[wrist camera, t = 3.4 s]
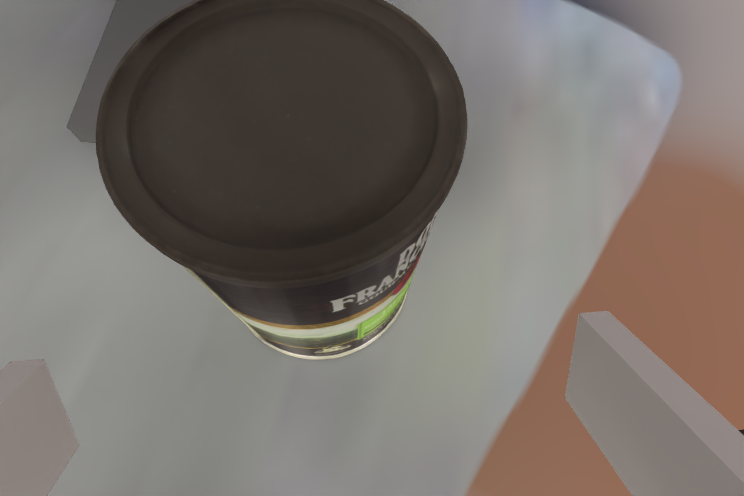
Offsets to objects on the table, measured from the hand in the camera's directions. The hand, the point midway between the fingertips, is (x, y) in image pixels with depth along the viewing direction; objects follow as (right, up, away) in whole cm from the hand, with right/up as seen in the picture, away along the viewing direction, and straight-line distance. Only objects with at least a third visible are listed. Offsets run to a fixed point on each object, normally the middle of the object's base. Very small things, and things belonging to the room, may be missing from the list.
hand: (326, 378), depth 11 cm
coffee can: (-2, +2, +14) cm, 15 cm away
